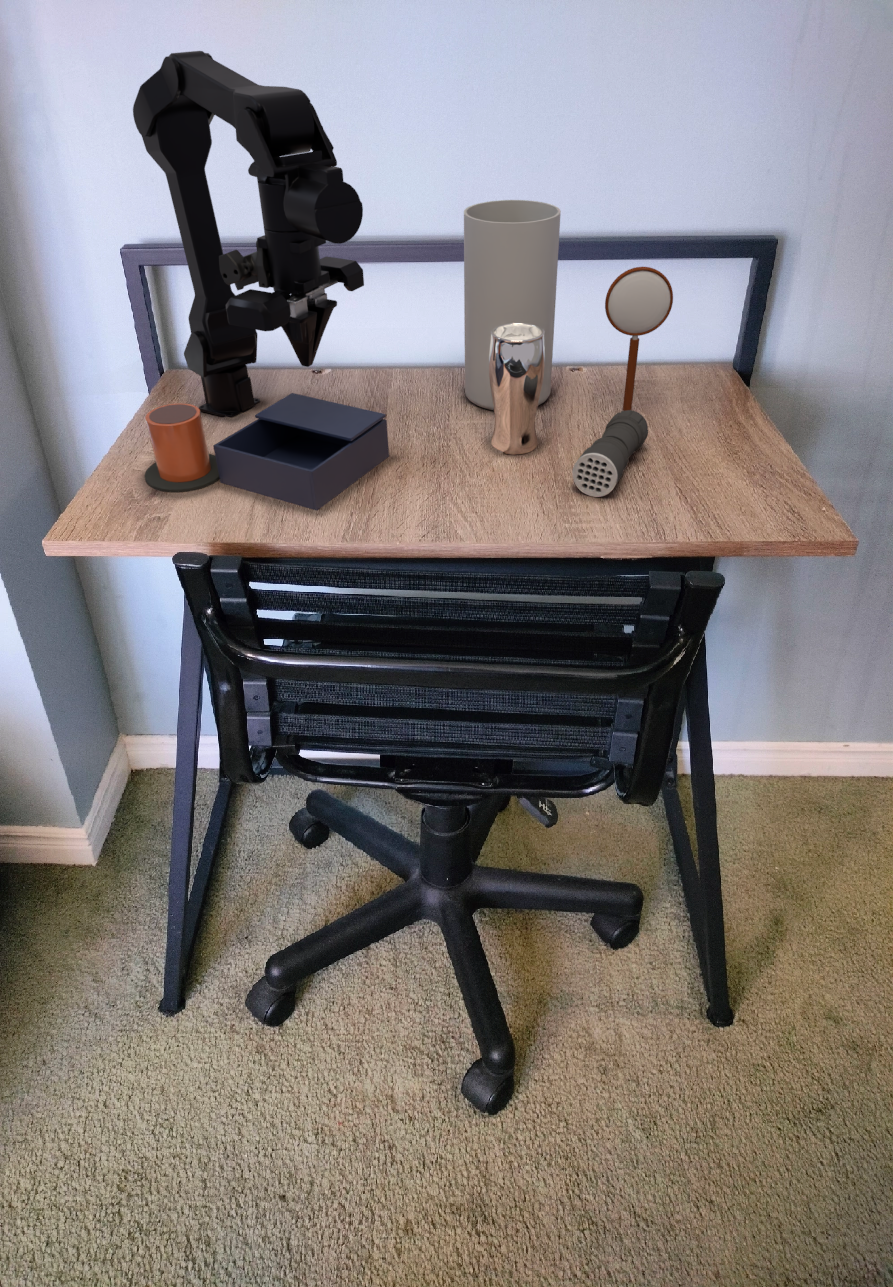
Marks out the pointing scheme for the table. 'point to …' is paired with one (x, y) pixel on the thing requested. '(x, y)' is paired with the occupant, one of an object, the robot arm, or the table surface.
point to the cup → (178, 442)
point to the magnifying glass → (637, 312)
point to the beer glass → (516, 384)
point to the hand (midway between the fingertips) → (306, 365)
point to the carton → (298, 461)
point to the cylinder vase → (507, 282)
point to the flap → (321, 416)
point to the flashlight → (610, 454)
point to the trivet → (177, 487)
